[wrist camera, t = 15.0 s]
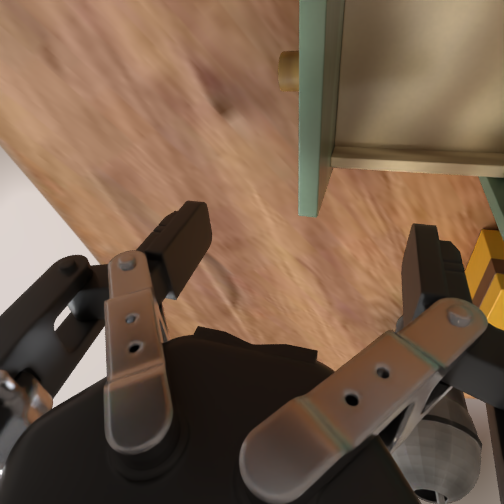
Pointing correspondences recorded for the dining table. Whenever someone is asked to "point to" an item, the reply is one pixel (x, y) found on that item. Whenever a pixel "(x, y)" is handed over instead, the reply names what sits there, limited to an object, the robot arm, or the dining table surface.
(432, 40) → the drawer
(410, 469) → the beverage cup
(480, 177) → the cabinet
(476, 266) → the snack box
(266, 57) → the dining table surface
